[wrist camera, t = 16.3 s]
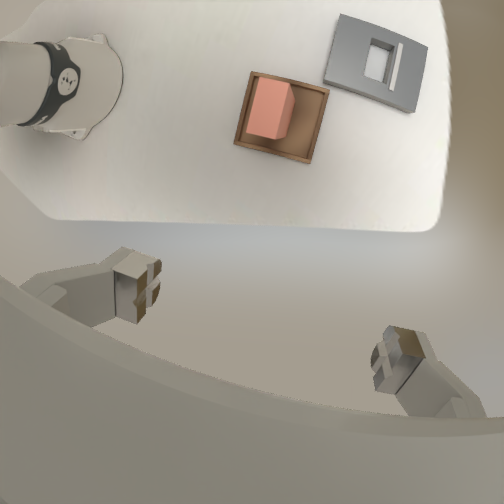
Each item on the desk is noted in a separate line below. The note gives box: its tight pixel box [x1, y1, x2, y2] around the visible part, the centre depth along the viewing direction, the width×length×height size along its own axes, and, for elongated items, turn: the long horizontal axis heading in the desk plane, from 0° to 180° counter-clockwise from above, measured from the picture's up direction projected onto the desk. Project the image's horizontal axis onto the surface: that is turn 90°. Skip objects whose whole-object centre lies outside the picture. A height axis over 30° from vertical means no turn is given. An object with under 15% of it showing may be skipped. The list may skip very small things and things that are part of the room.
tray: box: [234, 71, 330, 164], centre depth 34 cm, size 10×10×2 cm
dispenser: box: [323, 14, 428, 113], centre depth 28 cm, size 12×10×3 cm
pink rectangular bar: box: [246, 77, 295, 139], centre depth 28 cm, size 2×5×14 cm, turn 167°
